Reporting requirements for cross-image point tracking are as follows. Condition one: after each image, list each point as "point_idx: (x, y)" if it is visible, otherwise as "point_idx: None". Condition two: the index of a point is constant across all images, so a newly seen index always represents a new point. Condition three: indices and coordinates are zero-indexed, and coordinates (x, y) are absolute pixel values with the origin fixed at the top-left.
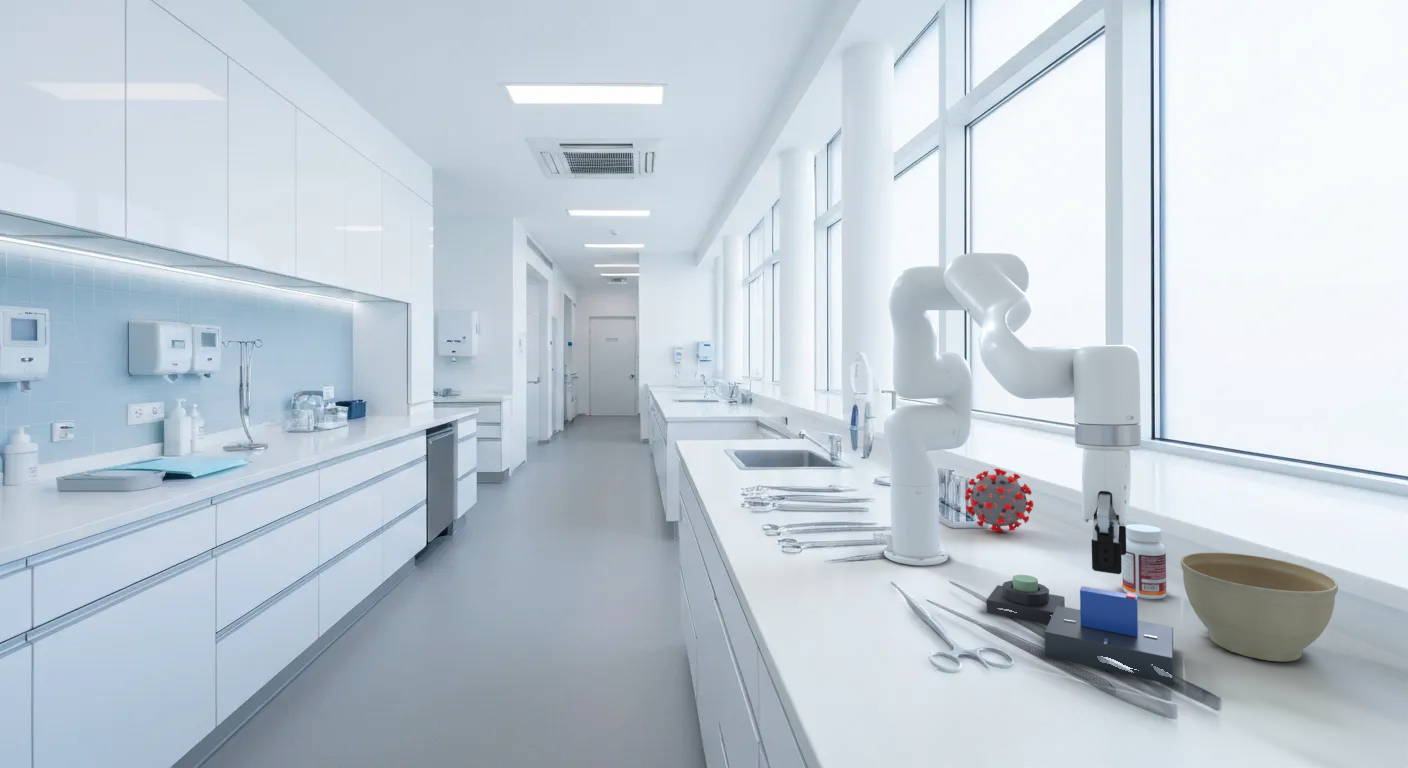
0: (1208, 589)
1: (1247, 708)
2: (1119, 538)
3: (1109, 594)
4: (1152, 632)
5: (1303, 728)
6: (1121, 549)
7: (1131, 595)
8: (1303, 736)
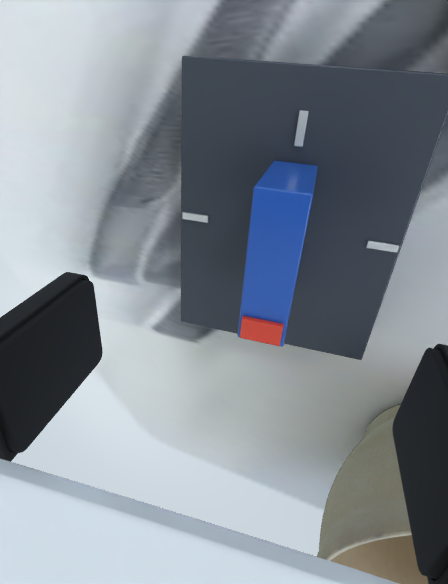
0: (383, 498)
1: (180, 362)
2: (412, 487)
3: (249, 276)
4: (305, 316)
5: (161, 395)
6: (397, 436)
7: (253, 332)
8: (141, 388)
